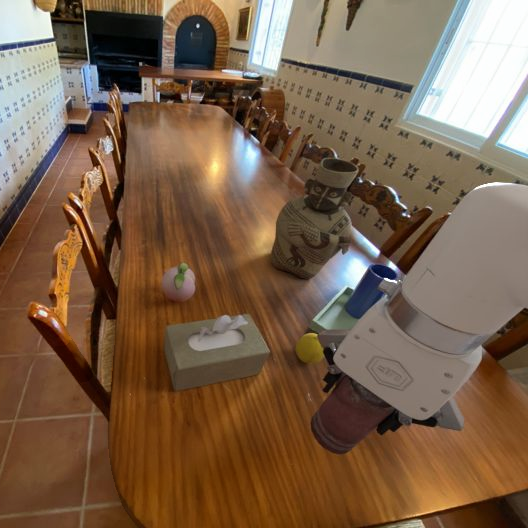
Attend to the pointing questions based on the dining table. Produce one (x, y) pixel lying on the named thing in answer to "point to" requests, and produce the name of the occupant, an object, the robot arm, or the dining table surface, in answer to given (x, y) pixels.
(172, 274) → the decorative fruit
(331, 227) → the ceramic vessel
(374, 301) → the tumbler
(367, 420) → the can
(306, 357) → the lemon
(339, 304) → the tray
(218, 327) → the tissue box
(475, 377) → the dining table surface
